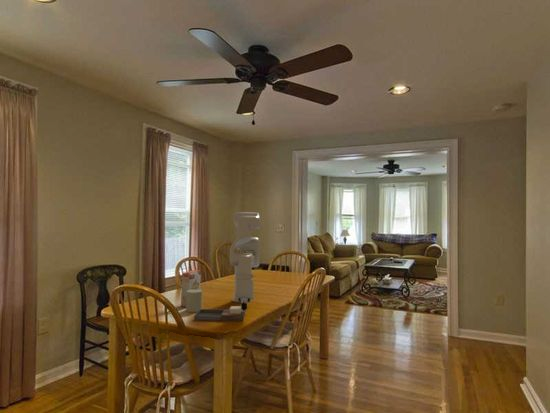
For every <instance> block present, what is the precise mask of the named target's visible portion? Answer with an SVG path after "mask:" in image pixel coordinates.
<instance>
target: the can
mask: <svg viewBox="0 0 550 413" xmlns="http://www.w3.org/2000/svg"><path fill="white" fill-rule="evenodd" d="M202 306H203V290H202V289H201V288H200V289H191V290H187V306H186V307H185V308H186V309H185V311H186V312H188V313H197V312H198V311H199V309H203V307H202Z"/></svg>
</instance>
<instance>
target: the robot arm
mask: <svg viewBox="0 0 550 413" xmlns="http://www.w3.org/2000/svg"><path fill="white" fill-rule="evenodd" d="M232 219H233V223H234V226H235V229H236V230H235V231H236V239H235V240H234V241H233V242H232V244H231V246H230V248H229V264H230V265H231V266H233V267H234V297H232V298H231V301H232V302H235V303H241V305H240V306H241V309H243V311H245V312H246V310H247V309H248V303H249V302H251V301H254V300H255V297H254V294H255V292H254V291H255V290H254V288H255V287H254V285H255V284H254V280H253V278H255V275H254V274H252V273H253V272H252V270H253V268H258V267H259V266H260V262H261V240H260V239H259V237H256V236H252V230H260V228H261V225H262V220H261V216H260V213H259V212H257V211H256V212H255V211H253V212H252V211H237V212H234V213H233V215H232ZM236 250H237V251H238V252H235V251H236ZM239 251H240V252H239Z"/></svg>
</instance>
